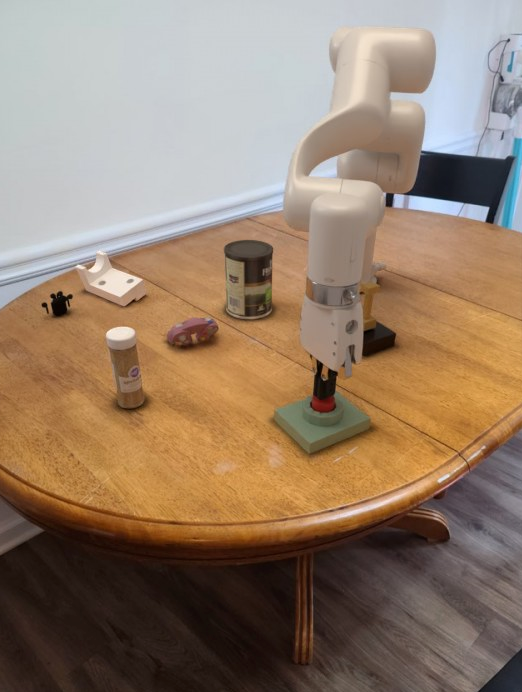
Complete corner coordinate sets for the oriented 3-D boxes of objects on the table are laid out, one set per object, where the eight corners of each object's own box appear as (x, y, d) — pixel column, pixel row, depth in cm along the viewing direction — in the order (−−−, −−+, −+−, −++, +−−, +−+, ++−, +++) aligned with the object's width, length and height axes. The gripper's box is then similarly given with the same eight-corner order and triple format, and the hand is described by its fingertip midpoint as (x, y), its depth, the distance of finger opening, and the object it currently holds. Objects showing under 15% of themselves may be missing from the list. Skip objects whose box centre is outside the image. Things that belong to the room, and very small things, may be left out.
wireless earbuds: (73, 307, 124) (69, 286, 121) (79, 311, 122) (75, 290, 120) (43, 317, 120) (38, 295, 117) (49, 321, 118) (44, 299, 115)
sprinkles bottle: (135, 412, 94) (124, 342, 86) (112, 405, 95) (99, 335, 87) (150, 397, 97) (141, 328, 89) (127, 391, 98) (116, 323, 91)
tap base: (339, 311, 126) (343, 274, 121) (394, 346, 114) (400, 307, 109) (291, 325, 120) (293, 287, 115) (344, 363, 108) (348, 323, 103)
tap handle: (366, 321, 115) (371, 280, 110) (375, 327, 113) (381, 286, 108) (354, 325, 114) (359, 283, 109) (364, 331, 112) (369, 289, 107)
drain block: (332, 398, 99) (333, 379, 96) (369, 429, 92) (372, 409, 90) (274, 420, 93) (274, 400, 91) (309, 454, 86) (310, 434, 84)
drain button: (325, 397, 92) (325, 389, 91) (338, 409, 90) (339, 400, 89) (307, 404, 91) (307, 395, 90) (320, 416, 88) (321, 407, 87)
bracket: (88, 293, 132) (75, 266, 126) (110, 277, 135) (98, 250, 130) (125, 309, 126) (113, 282, 120) (147, 292, 129) (137, 264, 124)
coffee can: (276, 301, 129) (277, 241, 121) (266, 322, 121) (267, 259, 112) (233, 296, 130) (231, 237, 122) (220, 316, 122) (217, 254, 114)
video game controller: (171, 355, 111) (174, 335, 106) (164, 337, 113) (166, 316, 107) (218, 345, 115) (223, 324, 109) (210, 327, 117) (214, 306, 111)
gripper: (389, 303, 75) (372, 412, 86) (322, 264, 85) (315, 366, 96) (345, 316, 72) (333, 428, 83) (281, 274, 82) (278, 379, 92)
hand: (324, 395), depth 89 cm, fingers closed
